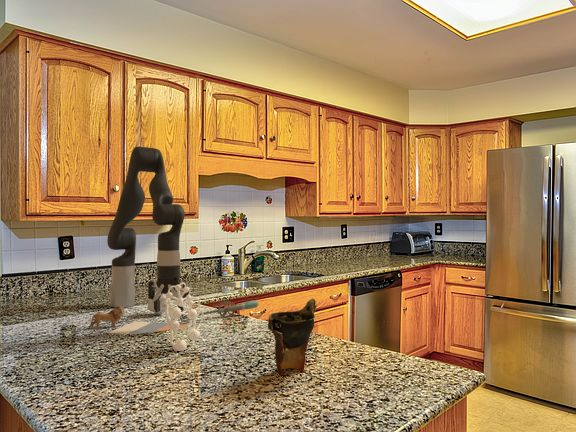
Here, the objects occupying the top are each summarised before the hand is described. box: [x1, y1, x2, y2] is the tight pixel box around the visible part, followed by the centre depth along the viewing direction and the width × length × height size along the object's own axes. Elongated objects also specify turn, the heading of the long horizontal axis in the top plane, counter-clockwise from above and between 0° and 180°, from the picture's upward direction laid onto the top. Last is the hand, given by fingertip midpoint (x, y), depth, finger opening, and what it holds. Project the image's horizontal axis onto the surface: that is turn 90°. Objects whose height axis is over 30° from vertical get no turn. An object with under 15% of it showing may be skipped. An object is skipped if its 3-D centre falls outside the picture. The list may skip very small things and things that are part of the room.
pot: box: [267, 298, 317, 376], centre depth 113 cm, size 17×11×18 cm, turn 141°
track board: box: [89, 320, 189, 335], centre depth 159 cm, size 28×16×1 cm, turn 78°
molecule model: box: [164, 283, 205, 352], centre depth 133 cm, size 19×14×4 cm
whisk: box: [179, 299, 259, 323], centre depth 176 cm, size 11×32×7 cm, turn 123°
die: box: [146, 289, 172, 316], centre depth 180 cm, size 8×9×10 cm
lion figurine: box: [87, 306, 125, 330], centre depth 160 cm, size 12×4×7 cm, turn 120°
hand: (168, 312), depth 157 cm, fingers open, 7 cm apart
